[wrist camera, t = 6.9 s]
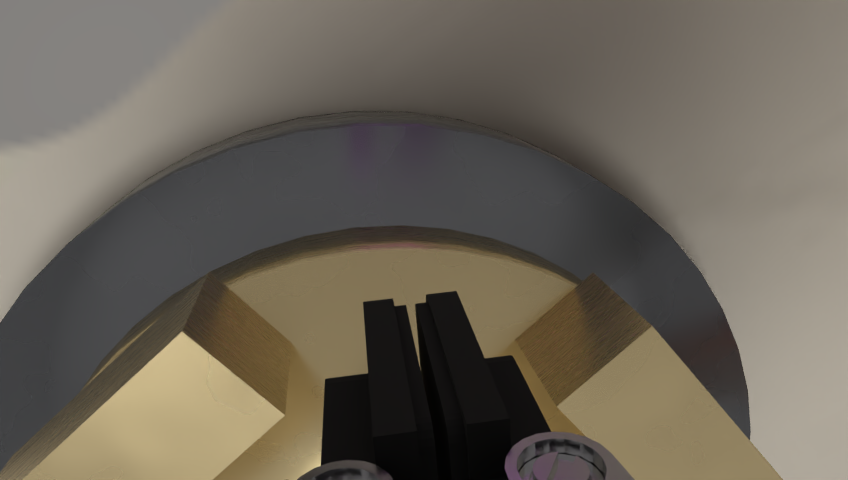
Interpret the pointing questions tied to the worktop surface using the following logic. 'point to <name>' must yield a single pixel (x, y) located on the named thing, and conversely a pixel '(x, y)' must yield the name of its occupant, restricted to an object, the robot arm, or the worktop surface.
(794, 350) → the worktop surface
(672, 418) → the four-jaw chuck
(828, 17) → the worktop surface
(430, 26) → the worktop surface
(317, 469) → the robot arm
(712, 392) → the cap flange
